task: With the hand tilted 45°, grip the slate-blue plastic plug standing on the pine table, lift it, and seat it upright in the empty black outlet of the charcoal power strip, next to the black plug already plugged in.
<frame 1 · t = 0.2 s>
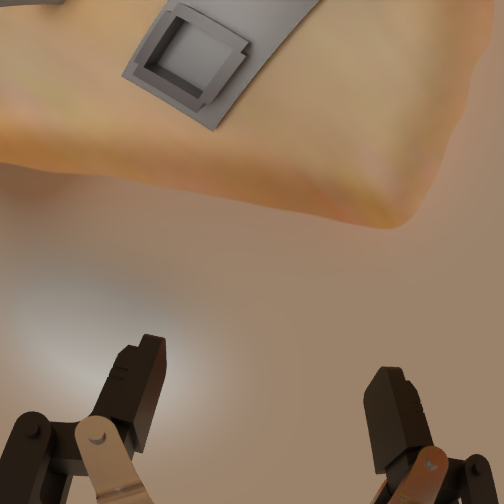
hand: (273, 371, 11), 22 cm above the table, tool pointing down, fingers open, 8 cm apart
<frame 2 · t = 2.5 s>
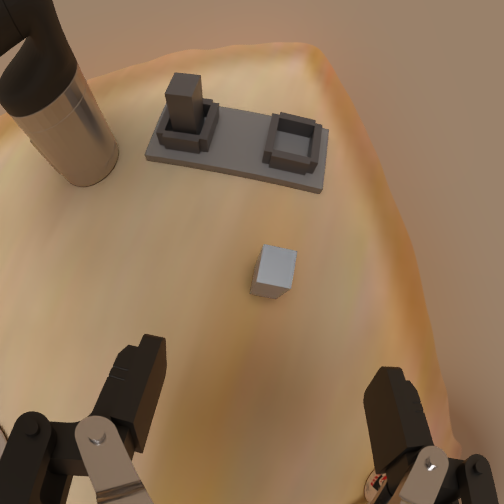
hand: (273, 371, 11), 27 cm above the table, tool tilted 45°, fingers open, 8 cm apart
plug: (265, 281, 39), on the table
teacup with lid: (381, 486, 33), on the table
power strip: (239, 144, 43), on the table
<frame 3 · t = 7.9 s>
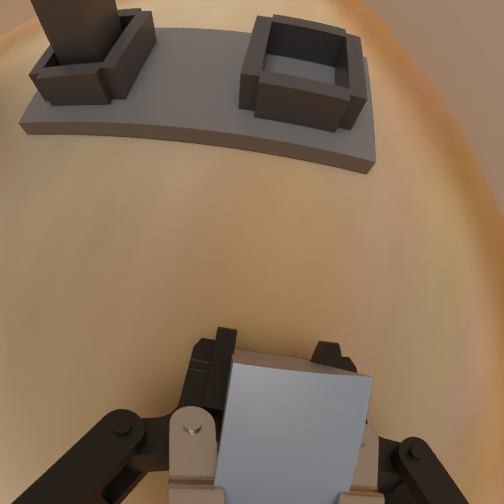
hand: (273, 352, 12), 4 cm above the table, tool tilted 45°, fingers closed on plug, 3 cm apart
plug: (257, 387, 15), on the table, touching gripper
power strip: (194, 84, 20), on the table
when the fingers open (6 cm above the table, at t = 13.6 s): plug stays where it is, resting on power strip.
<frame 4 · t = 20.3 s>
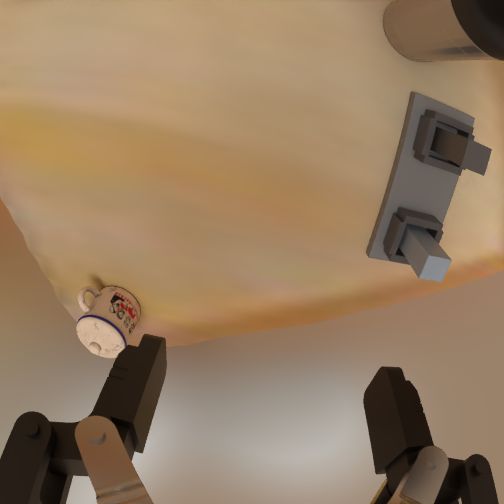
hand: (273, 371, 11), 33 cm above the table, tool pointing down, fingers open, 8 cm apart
plug: (409, 233, 42), point 1 cm above the table, touching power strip
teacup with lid: (114, 298, 53), on the table
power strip: (420, 184, 40), on the table
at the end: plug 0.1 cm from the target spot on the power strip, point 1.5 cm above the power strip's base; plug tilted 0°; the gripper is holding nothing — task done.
